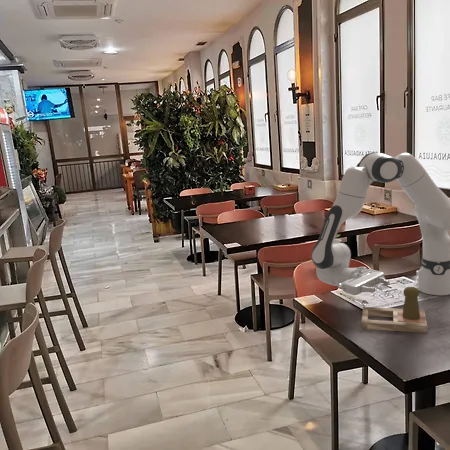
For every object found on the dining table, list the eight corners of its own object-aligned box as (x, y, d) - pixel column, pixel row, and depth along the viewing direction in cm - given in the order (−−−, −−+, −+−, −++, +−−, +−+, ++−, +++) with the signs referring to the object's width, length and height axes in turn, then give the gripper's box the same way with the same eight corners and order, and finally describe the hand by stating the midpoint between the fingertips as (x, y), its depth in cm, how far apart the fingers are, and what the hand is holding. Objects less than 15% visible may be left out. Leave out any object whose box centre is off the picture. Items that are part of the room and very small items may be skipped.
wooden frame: (363, 312, 178) (363, 306, 177) (424, 316, 171) (424, 309, 170) (361, 328, 165) (361, 321, 165) (427, 332, 158) (427, 325, 157)
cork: (415, 312, 168) (415, 284, 166) (423, 319, 163) (423, 290, 160) (399, 313, 168) (399, 286, 166) (406, 320, 162) (406, 291, 160)
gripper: (334, 279, 177) (365, 286, 166) (365, 265, 189) (396, 271, 178) (335, 294, 178) (365, 302, 168) (366, 279, 190) (396, 286, 180)
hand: (381, 286), depth 173 cm, fingers open, 8 cm apart
